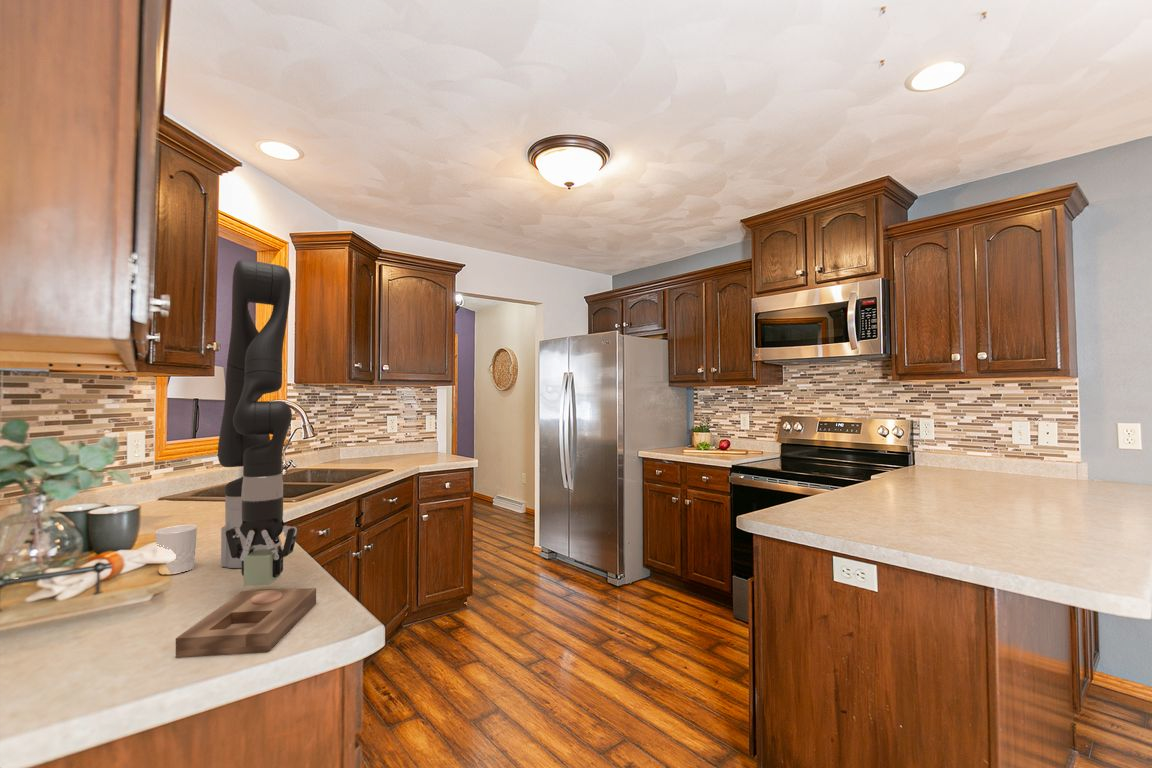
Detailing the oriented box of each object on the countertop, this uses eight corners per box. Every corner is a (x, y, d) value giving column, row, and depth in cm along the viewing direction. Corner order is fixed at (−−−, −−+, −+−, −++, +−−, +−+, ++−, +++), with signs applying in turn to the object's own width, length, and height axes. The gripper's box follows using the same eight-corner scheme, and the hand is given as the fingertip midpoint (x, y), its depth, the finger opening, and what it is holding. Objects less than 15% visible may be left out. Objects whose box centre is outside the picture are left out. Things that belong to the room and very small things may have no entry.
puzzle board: (175, 657, 84) (175, 634, 84) (241, 606, 103) (241, 588, 104) (268, 651, 85) (268, 629, 85) (316, 603, 105) (316, 584, 105)
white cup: (152, 571, 125) (152, 529, 125) (192, 563, 131) (192, 523, 131) (158, 579, 120) (159, 535, 120) (200, 570, 126) (200, 528, 126)
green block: (243, 586, 108) (243, 556, 108) (256, 577, 113) (256, 549, 113) (269, 585, 109) (269, 556, 109) (280, 576, 114) (280, 548, 114)
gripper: (305, 491, 115) (305, 569, 115) (236, 492, 114) (236, 571, 114) (290, 499, 108) (290, 582, 108) (216, 500, 106) (215, 584, 106)
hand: (262, 576), depth 111 cm, fingers closed on green block, 5 cm apart
